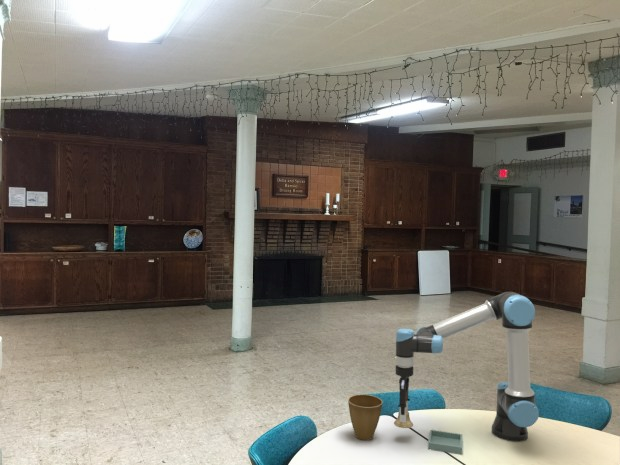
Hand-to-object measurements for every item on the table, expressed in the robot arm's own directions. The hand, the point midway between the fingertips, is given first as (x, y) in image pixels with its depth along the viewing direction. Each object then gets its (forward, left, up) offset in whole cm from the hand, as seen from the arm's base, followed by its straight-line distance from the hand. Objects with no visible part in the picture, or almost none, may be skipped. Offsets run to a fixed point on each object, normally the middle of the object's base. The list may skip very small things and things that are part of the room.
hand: (403, 418), depth 220 cm
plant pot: (+16, +3, -9) cm, 19 cm away
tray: (-18, -1, -9) cm, 20 cm away
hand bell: (0, 0, -3) cm, 3 cm away
